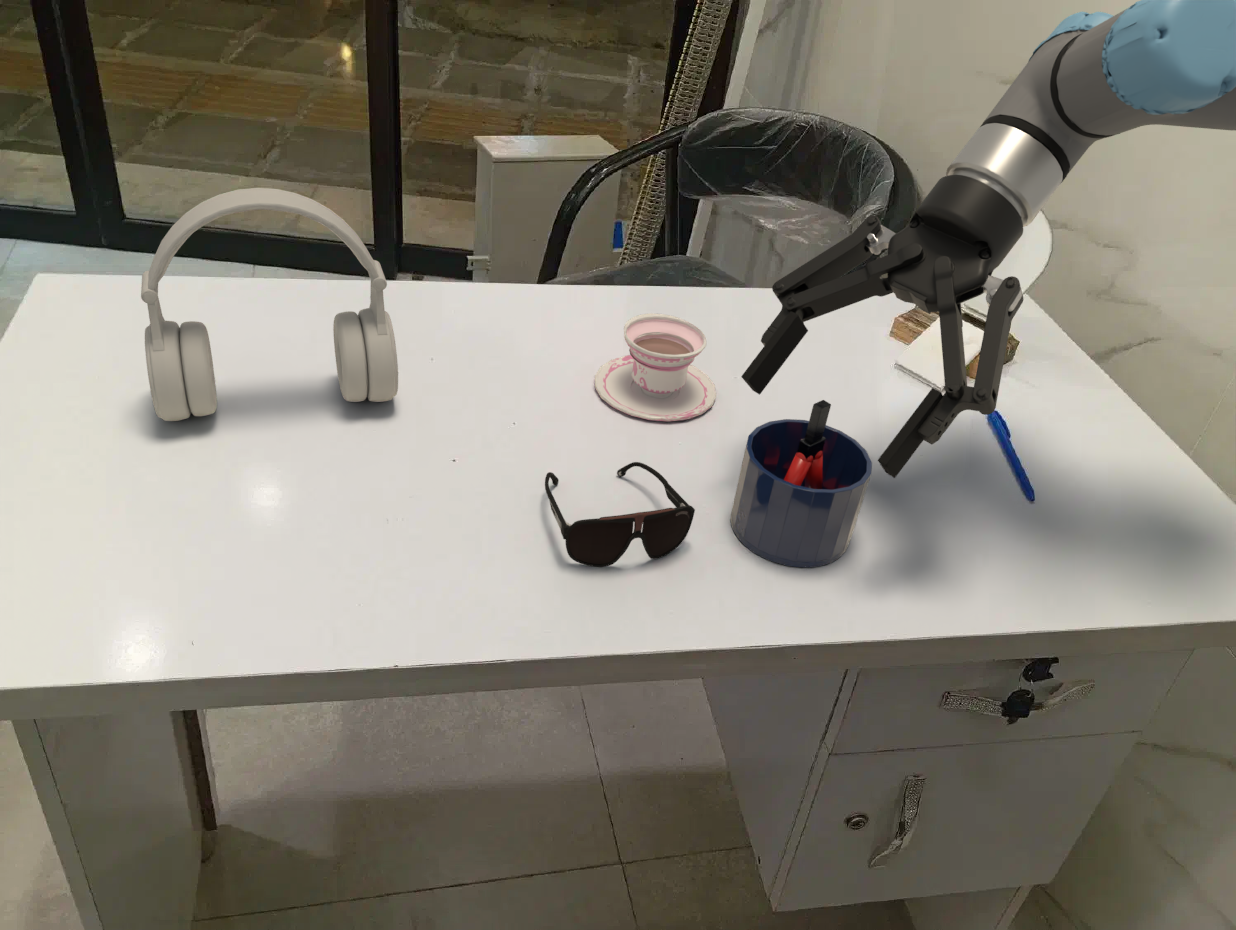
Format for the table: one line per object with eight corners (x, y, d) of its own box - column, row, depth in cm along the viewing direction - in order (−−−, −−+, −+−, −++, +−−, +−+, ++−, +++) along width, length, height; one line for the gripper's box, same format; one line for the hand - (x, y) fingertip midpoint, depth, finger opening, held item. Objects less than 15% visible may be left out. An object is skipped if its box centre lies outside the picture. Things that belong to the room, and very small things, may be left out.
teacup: (739, 410, 96) (750, 354, 92) (631, 434, 91) (639, 375, 87) (675, 351, 104) (683, 298, 101) (573, 369, 99) (578, 314, 95)
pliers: (832, 516, 83) (867, 399, 76) (775, 548, 79) (806, 427, 72) (805, 497, 85) (836, 382, 78) (748, 527, 80) (776, 408, 74)
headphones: (386, 370, 95) (379, 173, 84) (401, 418, 89) (396, 212, 78) (159, 389, 89) (118, 178, 77) (158, 442, 82) (113, 221, 71)
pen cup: (872, 538, 82) (897, 465, 78) (795, 584, 76) (817, 508, 72) (784, 478, 88) (802, 406, 83) (706, 517, 82) (721, 442, 78)
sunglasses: (568, 581, 74) (571, 524, 71) (526, 500, 83) (527, 448, 81) (698, 560, 77) (705, 505, 75) (643, 485, 87) (648, 435, 84)
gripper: (1140, 291, 72) (962, 526, 72) (866, 177, 86) (717, 374, 86) (1137, 235, 65) (942, 492, 65) (842, 123, 80) (682, 334, 80)
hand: (814, 426), depth 76 cm, fingers open, 13 cm apart
